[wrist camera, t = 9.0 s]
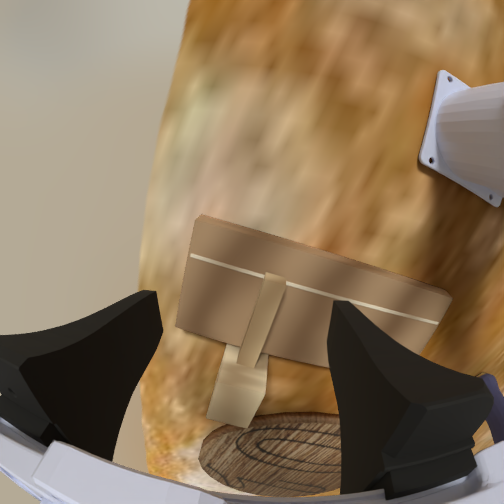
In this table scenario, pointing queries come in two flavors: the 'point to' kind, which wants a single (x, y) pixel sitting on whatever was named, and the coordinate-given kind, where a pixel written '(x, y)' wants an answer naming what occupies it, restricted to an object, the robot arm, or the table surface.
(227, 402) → the beige block with handle
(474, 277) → the table surface
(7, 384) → the robot arm
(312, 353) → the board
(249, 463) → the trivet
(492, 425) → the rubber mallet
